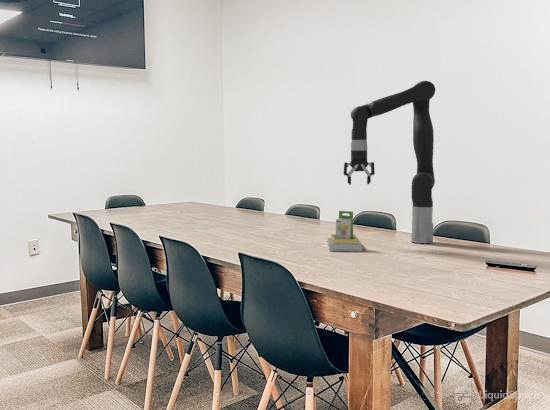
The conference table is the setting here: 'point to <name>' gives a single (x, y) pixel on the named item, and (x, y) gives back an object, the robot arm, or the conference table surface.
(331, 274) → the conference table surface
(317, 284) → the conference table surface
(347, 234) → the ink box
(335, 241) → the white yellow box
